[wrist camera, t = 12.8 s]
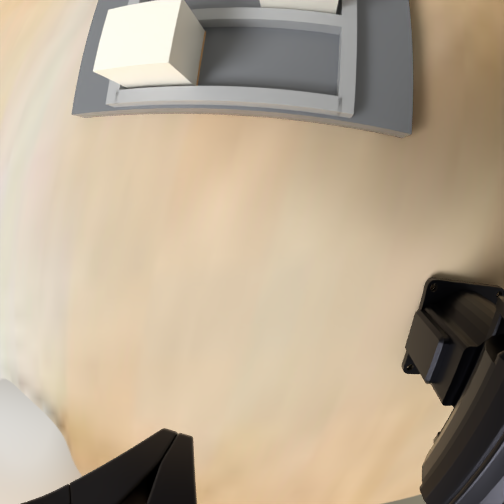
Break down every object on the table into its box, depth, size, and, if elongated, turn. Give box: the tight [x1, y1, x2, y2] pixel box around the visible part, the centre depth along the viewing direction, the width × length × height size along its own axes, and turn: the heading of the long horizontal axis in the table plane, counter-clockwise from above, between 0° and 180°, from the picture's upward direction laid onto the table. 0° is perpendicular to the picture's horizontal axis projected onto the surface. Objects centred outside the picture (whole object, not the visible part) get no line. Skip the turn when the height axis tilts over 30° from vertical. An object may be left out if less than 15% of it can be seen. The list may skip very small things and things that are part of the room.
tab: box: [93, 0, 205, 89], centre depth 13 cm, size 4×4×4 cm
